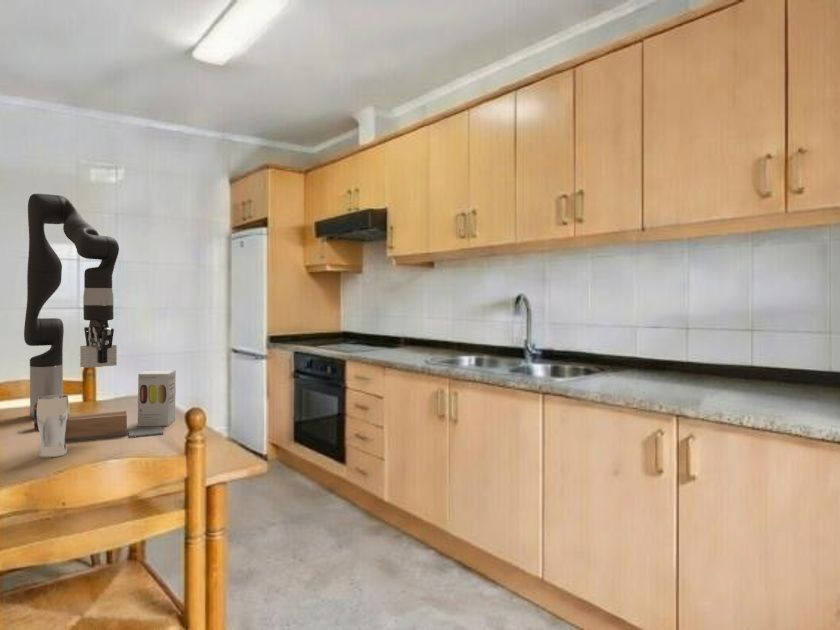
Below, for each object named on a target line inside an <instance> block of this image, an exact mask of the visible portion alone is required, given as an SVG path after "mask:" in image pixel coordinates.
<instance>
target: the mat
mask: <svg viewBox="0 0 840 630" xmlns="http://www.w3.org/2000/svg"><path fill="white" fill-rule="evenodd" d="M127 432H128V433H129V434H128V438H129V437H133V438H136V437H135V436H143V437H146V436H145V435H153V436H161V434H163V435H164V431H163V428H162V426H161V425H160V426H138V427H131V428H127Z"/></svg>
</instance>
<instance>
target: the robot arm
mask: <svg viewBox="0 0 840 630" xmlns="http://www.w3.org/2000/svg"><path fill="white" fill-rule="evenodd" d="M27 221H28V223H27V224H28V226H27V227H28V256H27V257H28V259H27V271H26V272H27V273H26V274H27V275H26V278H27V279H26V280H27V282H26V283H27V292H26V295H27V296H26V299H27V301H26V307H25V308H26V309H25V310H26V311H25V317H24V328H23V339H24V343H25V344H26V345H27V346H29V347H39V346H44V347H45V346H50V348H49V349H48V350H46V351H45V352H43V353H41V354H38V355H35V356H32V357H31V358H30V359H29V418H31V419H34V405H35V404H36V403H37V402H38V401H37V398H38V397H42V396H48V395H64V392H63V391H64V386H63V385H64V383H63V381H64V379H63V378H64V377H63V376H64V373H63V371H64V370H63V366H64V365H63V362H64V361H63V359H64V358H63V355H64V354H63V353H64V352H63V349H64V348H63V347H64V331H65V329H64V328H65V327H64V323H63V320H62V319H61V318H57V317H56V318H52V317H51V318H50V317H49V318H46V317H45V318H44V317H43V318H42V317H41V318H38V317H39V314H40V312H41V310H42V308H43V307H44V305H45V304H46V302H47V301H48V300H49V299H50V298H51V297H52V296H53V294H55V293H56V292H57V290H58V289H59V287H60V286H61V283H62V274H63V273H62V272H63V270H62V269H63V264H62V261H61V258H60V257H59V256H58V254H57V253H56V251H55V249H53V247H52V246H51V244H50V243H49V241H48V239H47V237H46V234H45V233H46V232H45V224H46V225H47V224H48V225H63V227H62V228H63V229H62V230H63V233H64V235H65V236H66V237H67V239H68V240H69V241H71V242H72V243H73V244H74V246H75V249H76V252H77V254H78V255H79V256H80V257H82V258H83V259H87V260H100V264H99V265H98V266H95V267H89V268H86V269H85V270H84V272H83V273H84V274H83V275H84V276H83V277H84V278H83V279H84V282H83V284H84V290H83V298H82V299H83V301H82V303H83V307H82V308H83V320H84V321H89V324H88V326H85V327H84V329H83V330H84V337H85V346H90V345H98V362H99V363H107V350H108V349H109V348H111V347H112V345H113V338H114V332H115V329H114V328H113V327H111V328H110V327H109V322H108V321H112V320H114V293H113V275H114V274H113V273H114V270H115V265H116V262H117V259H118V256H119V252H120V246H119V243H118V241H117V240H116V239H115V237H112V236H108V235H107V236H105V235H99V233H98V231H97V230H96V229H95V228H94V227H93V226H91V225H90V224H89V223H88V222H87V221H86V220H84V219H83V218H82V216H81V214H80V213H79V211H78V210H77V208H76V207H75V205H74V204H73V203H72V201H70V200H69V199H68V198H67V197H65V196H63V195H58V194H57V195H56V194H48V193H33V194H32V193H31V195H30V196H29V198H28V202H27Z"/></svg>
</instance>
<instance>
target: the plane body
mask: <svg viewBox="0 0 840 630" xmlns="http://www.w3.org/2000/svg"><path fill="white" fill-rule="evenodd" d="M127 417H128V414H127V411H126V410H122V411H109V412H96V413H85V414H83V413H82V414H71V415H70V414H69V421H68V427H67V432H66V439H65V441H66V443H67V442H75V441H76V442H77V441H84V440H85V441H86V440H94V439H95V438H97V439H105V438H106V437H107V438H115V436H117V437H124V436H123V435H127V436H129V434H128V428H127V427H128V422H127V421H128V420H127V419H128V418H127Z"/></svg>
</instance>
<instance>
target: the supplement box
mask: <svg viewBox="0 0 840 630" xmlns="http://www.w3.org/2000/svg"><path fill="white" fill-rule="evenodd" d="M137 376H138V381H137V383H138V386H137V387H138V389H137V427H150V426H160V425H161V427H164V426H167V427H168V426H169V425H171V424H173V422H174V421H175V420H176V387H177V386H176V370H175V369H174V370H167V369H165V370H161V369H160V370H150V369H149V370H144V371H142V372H140V373H138V375H137Z"/></svg>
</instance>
